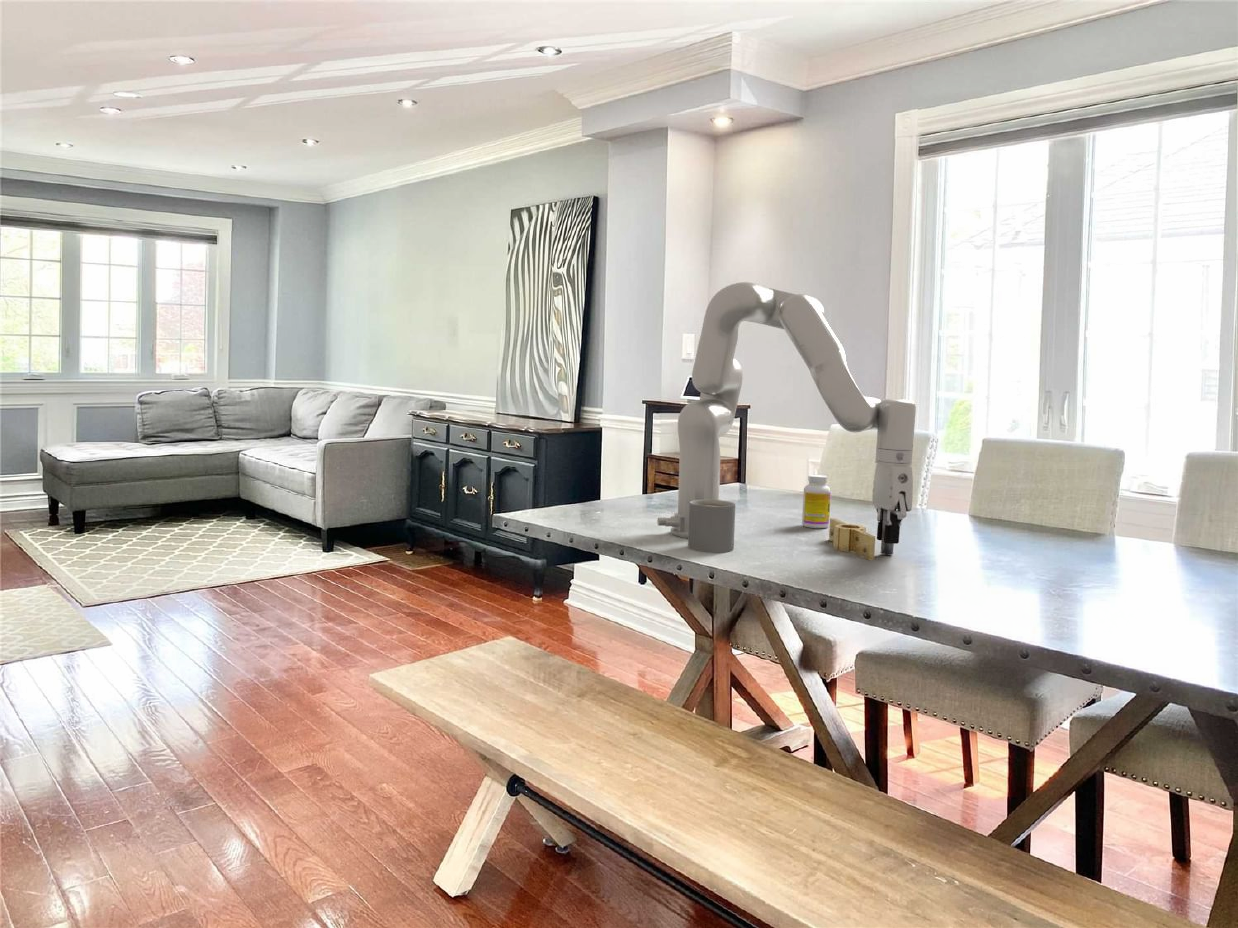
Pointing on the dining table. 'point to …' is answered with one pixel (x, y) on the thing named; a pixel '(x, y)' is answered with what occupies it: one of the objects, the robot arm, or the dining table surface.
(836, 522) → the wooden hinge leaf
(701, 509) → the coffee mug
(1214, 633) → the dining table surface
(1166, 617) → the dining table surface
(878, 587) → the dining table surface
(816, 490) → the supplement bottle
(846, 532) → the hinge base
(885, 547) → the hinge pin
